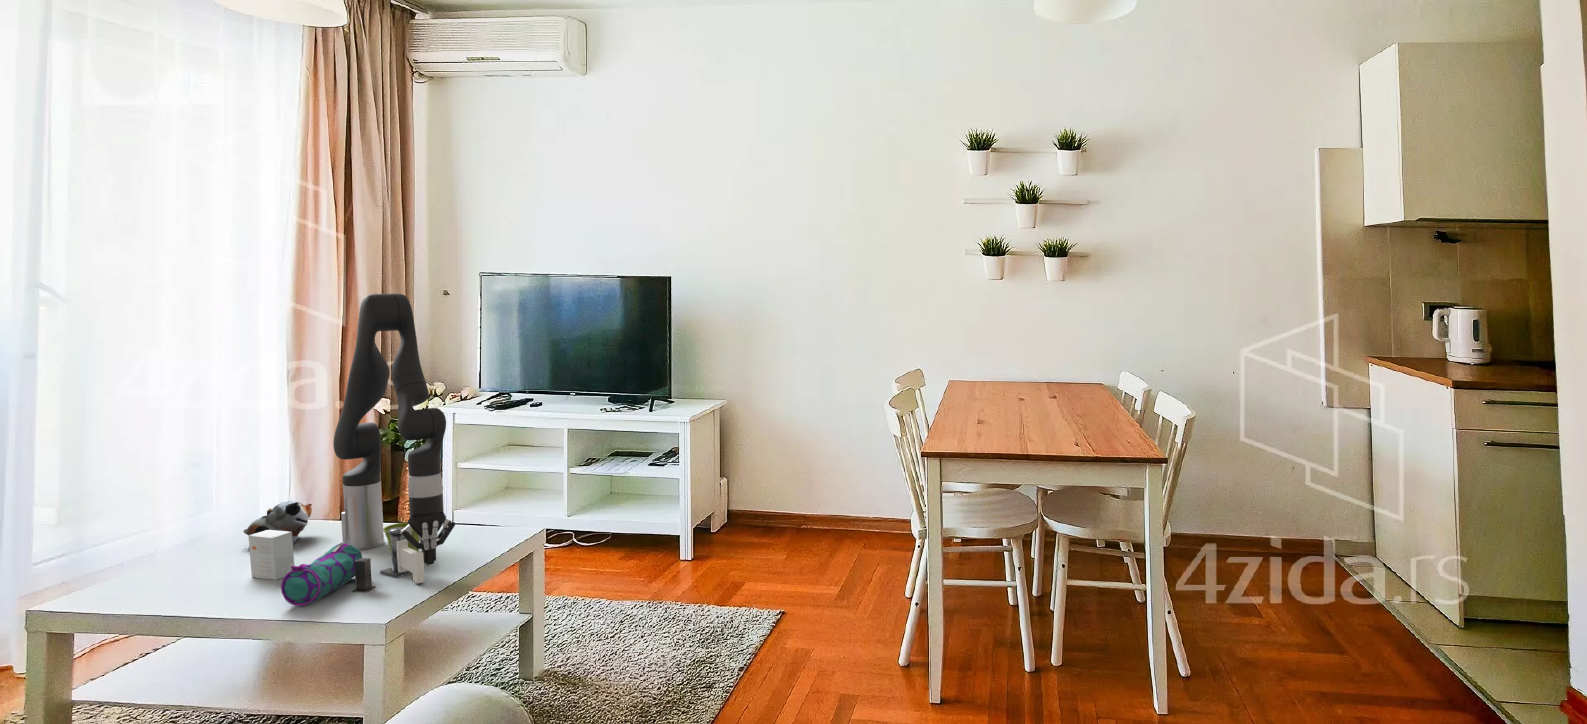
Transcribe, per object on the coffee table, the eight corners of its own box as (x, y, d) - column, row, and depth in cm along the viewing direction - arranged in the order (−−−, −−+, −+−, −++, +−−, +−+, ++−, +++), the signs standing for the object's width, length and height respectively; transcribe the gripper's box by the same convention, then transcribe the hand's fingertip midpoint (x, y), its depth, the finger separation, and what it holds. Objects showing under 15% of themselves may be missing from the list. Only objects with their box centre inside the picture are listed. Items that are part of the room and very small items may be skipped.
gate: (398, 573, 218) (396, 541, 217) (407, 571, 219) (405, 539, 219) (416, 583, 210) (414, 550, 210) (425, 581, 212) (423, 548, 211)
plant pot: (410, 566, 225) (408, 532, 225) (376, 564, 227) (375, 530, 226) (432, 555, 234) (430, 522, 234) (400, 553, 236) (398, 521, 236)
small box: (295, 573, 221) (293, 531, 220) (275, 580, 216) (273, 537, 215) (270, 570, 224) (268, 528, 223) (250, 577, 218) (248, 534, 217)
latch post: (352, 591, 207) (350, 561, 206) (361, 586, 210) (359, 557, 210) (367, 592, 206) (365, 562, 206) (375, 586, 210) (374, 557, 209)
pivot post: (380, 574, 219) (377, 530, 219) (402, 567, 225) (399, 524, 224) (395, 577, 216) (393, 533, 215) (417, 570, 222) (415, 527, 221)
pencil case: (327, 578, 217) (325, 539, 216) (364, 578, 217) (362, 539, 216) (279, 609, 196) (276, 566, 196) (320, 609, 196) (317, 565, 196)
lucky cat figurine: (273, 534, 257) (298, 489, 258) (305, 553, 254) (329, 508, 255) (232, 533, 242) (258, 486, 244) (265, 553, 239) (291, 505, 241)
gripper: (447, 485, 221) (451, 554, 222) (391, 494, 212) (395, 566, 214) (459, 490, 215) (462, 561, 217) (402, 499, 207) (406, 573, 208)
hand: (429, 563), depth 215 cm, fingers closed
